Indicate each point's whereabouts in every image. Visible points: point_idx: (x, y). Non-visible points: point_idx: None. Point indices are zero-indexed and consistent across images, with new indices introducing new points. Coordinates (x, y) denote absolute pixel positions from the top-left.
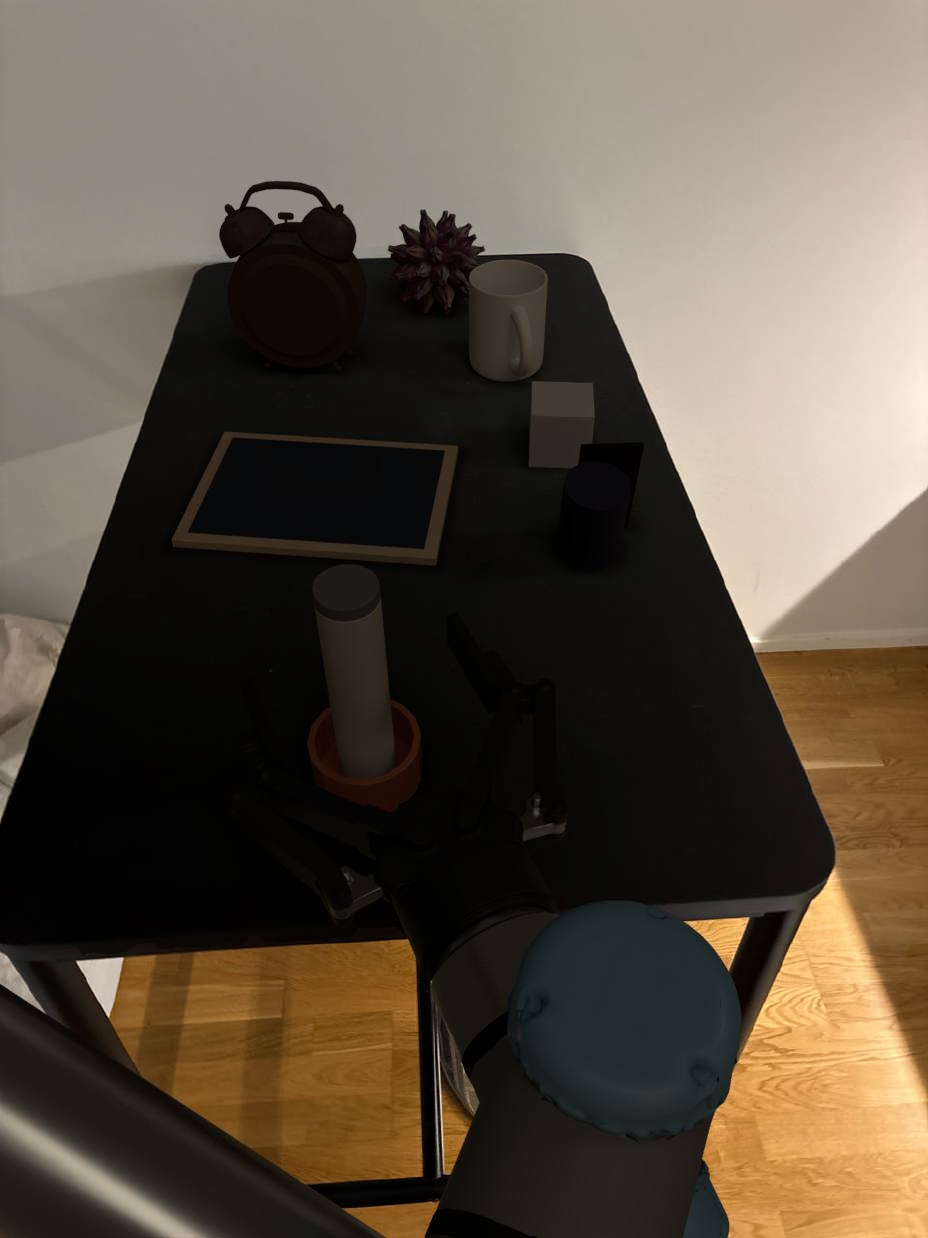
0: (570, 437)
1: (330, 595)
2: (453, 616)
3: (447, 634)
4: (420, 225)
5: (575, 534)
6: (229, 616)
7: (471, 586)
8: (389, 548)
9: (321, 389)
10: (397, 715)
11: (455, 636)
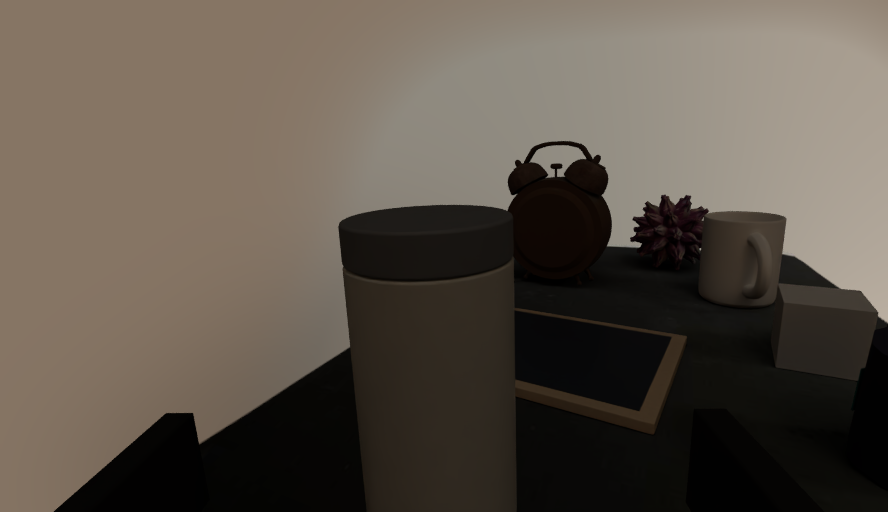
0: (838, 336)
1: (377, 219)
2: (714, 414)
3: (689, 470)
4: (660, 205)
5: None
6: None
7: None
8: (595, 401)
9: (562, 293)
10: None
11: (721, 469)
